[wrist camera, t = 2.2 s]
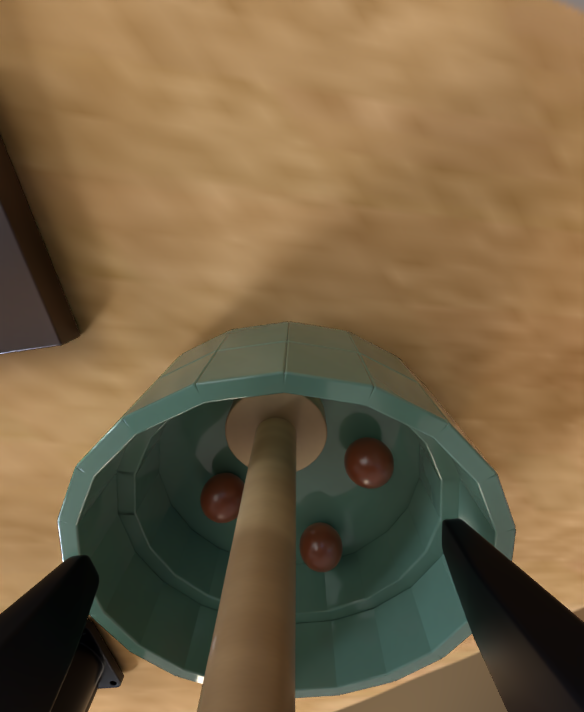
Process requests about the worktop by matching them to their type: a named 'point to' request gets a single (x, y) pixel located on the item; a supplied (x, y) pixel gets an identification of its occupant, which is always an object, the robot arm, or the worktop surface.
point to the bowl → (313, 504)
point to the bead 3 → (369, 462)
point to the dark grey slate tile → (27, 276)
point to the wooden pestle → (262, 557)
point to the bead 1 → (222, 497)
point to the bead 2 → (320, 547)
